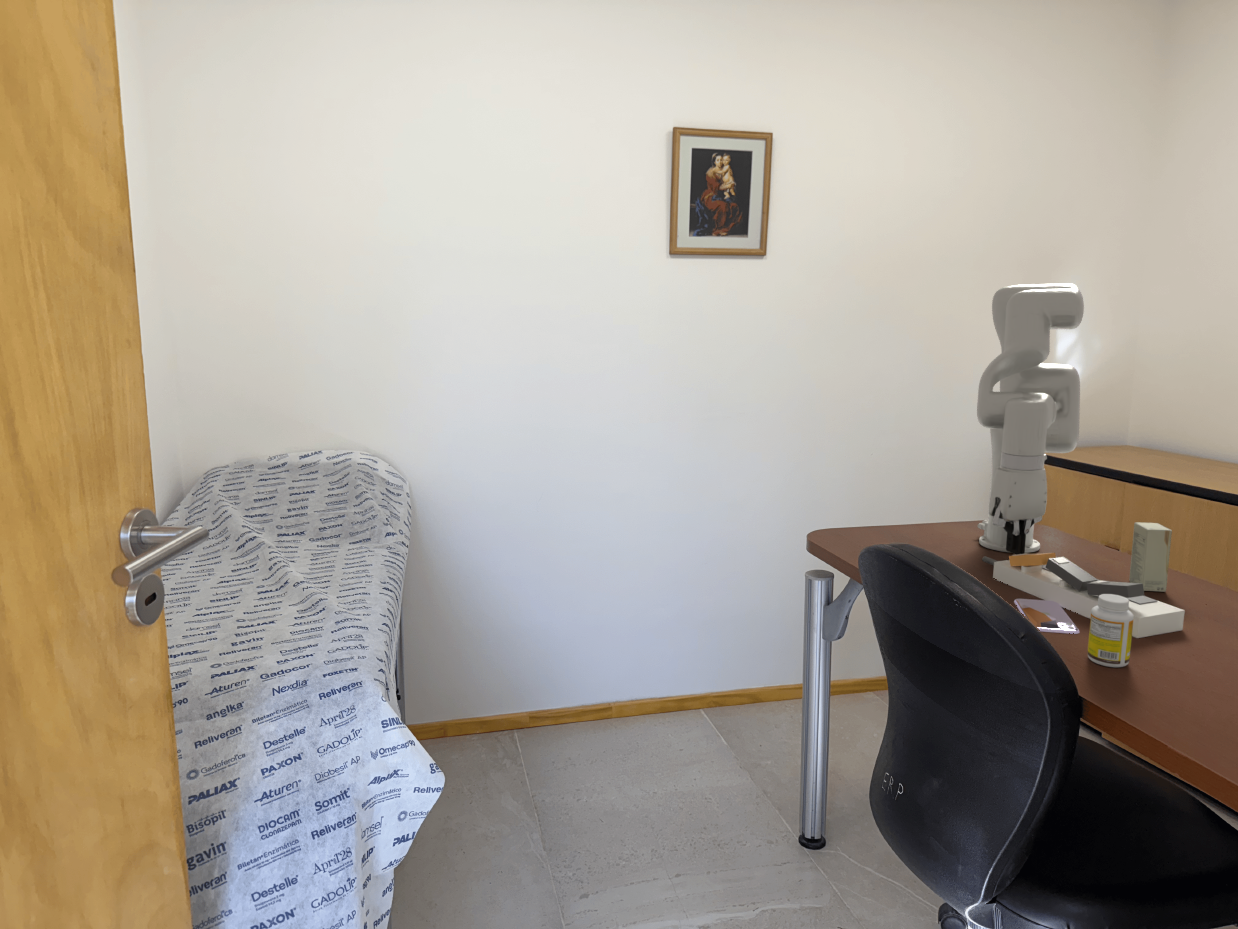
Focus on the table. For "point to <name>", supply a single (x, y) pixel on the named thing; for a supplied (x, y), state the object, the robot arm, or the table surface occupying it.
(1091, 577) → the block
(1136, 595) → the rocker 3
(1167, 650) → the table surface
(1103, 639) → the supplement bottle
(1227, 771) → the table surface
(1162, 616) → the power strip
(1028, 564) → the rocker
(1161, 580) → the skincare box
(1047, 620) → the mobile phone
